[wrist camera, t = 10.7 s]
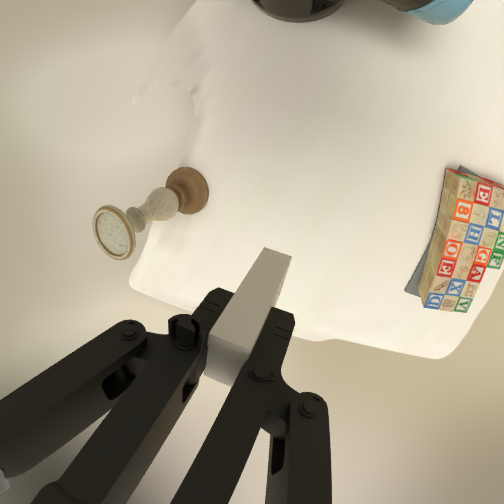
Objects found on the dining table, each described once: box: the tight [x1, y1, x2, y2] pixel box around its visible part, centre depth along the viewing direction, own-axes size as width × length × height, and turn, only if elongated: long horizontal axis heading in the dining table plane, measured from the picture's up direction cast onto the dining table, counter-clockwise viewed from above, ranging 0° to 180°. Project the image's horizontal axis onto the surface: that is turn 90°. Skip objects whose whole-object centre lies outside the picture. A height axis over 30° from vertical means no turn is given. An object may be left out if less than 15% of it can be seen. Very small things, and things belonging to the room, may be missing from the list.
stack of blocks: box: [418, 168, 504, 313], centre depth 33 cm, size 21×6×12 cm
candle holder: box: [93, 168, 208, 260], centre depth 41 cm, size 9×9×20 cm
